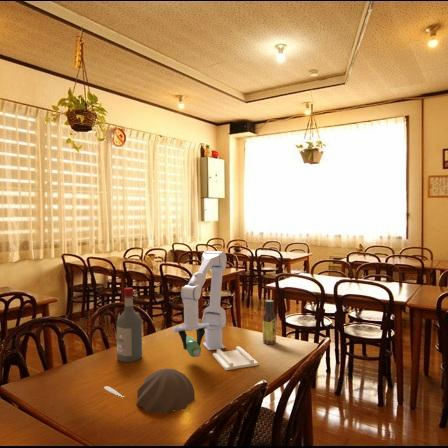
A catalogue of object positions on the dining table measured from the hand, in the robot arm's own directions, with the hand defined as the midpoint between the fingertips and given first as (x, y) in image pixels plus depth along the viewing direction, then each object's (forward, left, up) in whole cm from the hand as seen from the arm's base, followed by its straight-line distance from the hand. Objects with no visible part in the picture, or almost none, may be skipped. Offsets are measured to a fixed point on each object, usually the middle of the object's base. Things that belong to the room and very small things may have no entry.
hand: (191, 347), depth 157 cm
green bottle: (+2, 0, -2) cm, 3 cm away
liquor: (-16, -23, -7) cm, 29 cm away
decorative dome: (+24, -15, -7) cm, 29 cm away
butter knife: (+20, -28, -8) cm, 35 cm away
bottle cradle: (+2, +18, -7) cm, 19 cm away
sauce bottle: (-12, +41, -7) cm, 43 cm away
